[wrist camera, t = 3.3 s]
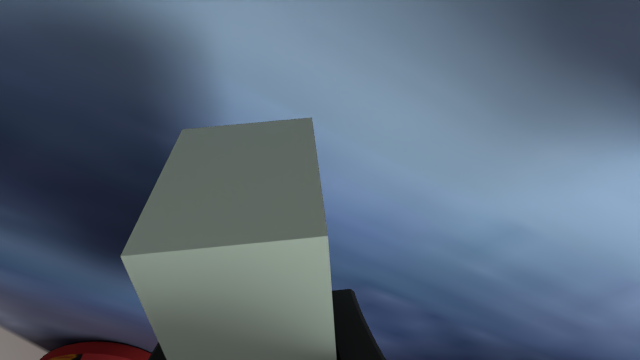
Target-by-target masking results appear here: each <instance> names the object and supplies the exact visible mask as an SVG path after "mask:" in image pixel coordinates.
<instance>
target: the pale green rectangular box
mask: <svg viewBox="0 0 640 360" xmlns="http://www.w3.org/2000/svg"><path fill="white" fill-rule="evenodd" d="M120 257H121V259H122V261H123V263H124V266H125V268H126V270H127V272H128V275H129V277H130V279H131V281H132V284H133V286H134V288H135V290H136V292H137V295H138V297H139V299H140V301H141V304H142V306H143V308H144V310H145V313H146V315H147V317H148V319H149V321H150V324H151V326H152V328H153V330H154V333H155V335H156V337H157V339H158V342H159V344H160V346H161V348H162V350H163V353H164V355H165V357H166V359H167V360H337V357H336V343H335V329H334V315H333V301H332V288H331V274H330V260H329V246H328V234H327V226H326V219H325V212H324V204H323V197H322V189H321V182H320V174H319V167H318V160H317V152H316V145H315V137H314V130H313V122H312V118H302V119H291V120H280V121H269V122H258V123H247V124H236V125H224V126H213V127H202V128H191V129H182V131H181V133H180V135H179V137H178V139H177V141H176V143H175V145H174V147H173V150H172V152H171V154H170V156H169V158H168V160H167V162H166V164H165V166H164V168H163V170H162V172H161V174H160V176H159V178H158V180H157V182H156V184H155V186H154V188H153V190H152V192H151V195H150V197H149V199H148V201H147V203H146V205H145V207H144V209H143V211H142V213H141V215H140V217H139V219H138V221H137V223H136V225H135V227H134V229H133V231H132V233H131V235H130V237H129V240H128V242H127V244H126V246H125V248H124V250H123V252H122V254H121V256H120Z"/></svg>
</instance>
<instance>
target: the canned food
mask: <svg viewBox="0 0 640 360" xmlns="http://www.w3.org/2000/svg"><path fill="white" fill-rule="evenodd" d="M150 355H151V353H149V352H147V351H144V350H142V349H139V348H136V347H132V346H129V345H125V344H119V343H113V342H98V341H96V342H81V343H75V344H70V345H65V346H63V347H60V348H57V349H54V350H52V351H51V352H49V353H47V354H46V355H44V356H43V357H42V358H41V359H40V360H148V359H149V357H150Z"/></svg>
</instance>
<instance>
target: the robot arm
mask: <svg viewBox="0 0 640 360" xmlns="http://www.w3.org/2000/svg"><path fill="white" fill-rule="evenodd" d="M332 301H333V315H334V329H335V343H336V357H337V360H386V359H385V357H384V356H383V354H382V352H381V350H380V348H379V347H378V345H377V343H376V341H375V339H374V337H373V335H372V333H371V331H370V329H369V327H368V325H367V323H366V321H365V319H364V316H363V314H362V312H361V310H360V307H359V304H358V302H357V299H356V296H355V293H354V291H352V290H351V289H345V290H336V291H332ZM148 360H167V359H166V357H165V355H164V353H163V350H162V348H161V346H160V344H159V342H158V344H157V346H156V347H155V349H154V351H153V352H152V354H151V355H150V357H149V359H148Z"/></svg>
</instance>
